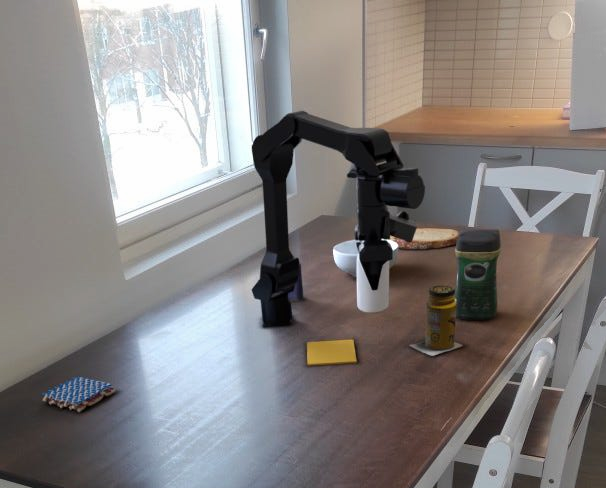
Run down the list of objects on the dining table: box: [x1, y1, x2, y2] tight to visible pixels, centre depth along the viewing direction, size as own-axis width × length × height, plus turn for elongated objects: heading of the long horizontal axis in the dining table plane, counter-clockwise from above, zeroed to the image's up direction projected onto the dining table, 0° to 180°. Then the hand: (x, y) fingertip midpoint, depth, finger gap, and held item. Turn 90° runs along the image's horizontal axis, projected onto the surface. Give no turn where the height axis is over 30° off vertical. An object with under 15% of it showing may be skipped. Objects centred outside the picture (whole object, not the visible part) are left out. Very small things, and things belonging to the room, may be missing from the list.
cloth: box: [306, 339, 358, 367], centre depth 169 cm, size 10×12×1 cm
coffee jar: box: [455, 228, 502, 321], centre depth 177 cm, size 10×8×19 cm
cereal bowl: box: [332, 239, 399, 278], centre depth 210 cm, size 17×17×7 cm
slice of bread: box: [387, 227, 460, 251], centre depth 231 cm, size 18×18×4 cm
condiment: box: [409, 284, 464, 357], centre depth 165 cm, size 7×8×12 cm
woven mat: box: [41, 376, 116, 413], centre depth 158 cm, size 10×11×2 cm
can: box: [356, 254, 390, 314], centre depth 162 cm, size 6×6×12 cm
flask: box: [288, 261, 304, 302], centre depth 197 cm, size 9×3×11 cm, turn 71°
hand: (373, 285), depth 163 cm, fingers closed on can, 6 cm apart
